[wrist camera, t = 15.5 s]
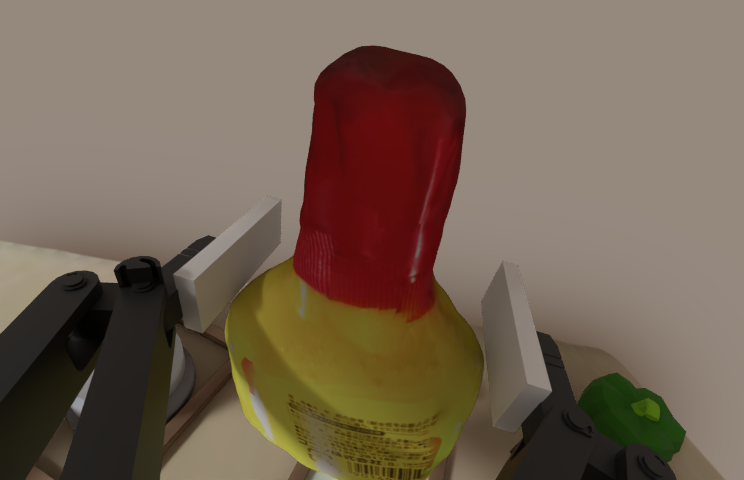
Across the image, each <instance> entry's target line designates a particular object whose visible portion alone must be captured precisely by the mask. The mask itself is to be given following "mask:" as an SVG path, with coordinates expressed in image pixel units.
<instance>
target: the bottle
mask: <svg viewBox="0 0 744 480" xmlns="http://www.w3.org/2000/svg"><path fill="white" fill-rule="evenodd" d="M314 102H315V106H314V113H313V122H312V135H311V141H310V147H309V153H308V159H307V165H306V172H305V184H304V200H303V205H302V208H301V212H300V227H301V228H300V233H299V237H298V240H297V244H296V249H295V253H294V256H292V257H291V258H289V259H288V260H286V261H284V262H283V263H281V264H279V265H277V266H275V267H273V268H271V269H269V270H267V271H266V272H264V273H263V274H261V275H260V276H258V277H257V278H255V279H254V280H253V281H251V282H250V283H249V284H248V285H247V286H246V287H245V288H244V289H243V290H242V291H241V292H240V293H239V294H238V295H237V296H236V298H235V299H234V300H233V302H232V304H231V308H230V311H229V314H228V316H227V320H226V324H225V340H226V344H227V347H228V350H229V355H230V359H231V366H232V375H233V379H234V382H235V385H236V390H237V393H238V396H239V399H240V404H241V407H242V410H243V413H244V414H245V416H246V418H247V419H248V421H249V422H250V423H251V424H252V425H253V426H254V427H255V428H257V429H258V430H259V431H260V432H261V433H262V434H263V436H264V437H265V438H266V439H267V440H269V441H270V442H272V443H273V444H275V445H277V446H279V447H281V448H282V449H284V450H285V451H287V452H288V453H289V454H291V455H292V456H293V457H294V458H295V459H296V460H298V461H299V462H300V463H301V464H303V465H305V466H306V467H308V468H310V469H313V470H316V471H319V472H323V473H325V474H328V475H330V476H332V477H334V478H336V479H338V480H426V479H427V478H428V476H429V475H430V474H431V472H432V471H433V469H434V468H435V467H436V466H437V465H438V464H439V463H440V462H441V461H443V460H444V459H445V458H446V457H447V456H448V455H449V454H450V452H451V451H452V449H453V447H454V445H455V443H456V441H457V439H458V437H459V435H460V433H461V431H462V428H463V426H464V424H465V422H466V420H467V419H468V417H469V415H470V413H471V412H472V410H473V407H474V405H475V402H476V399H477V396H478V392H479V389H480V385H481V381H482V376H483V369H484V359H483V354H482V350H481V348H480V345H479V342H478V340H477V337H476V335H475V333H474V331H473V330H472V328H471V327H470V325H469V324H468V323H467V321H466V320H465V319H464V318H463V317H462V316H461V315H460V314H459V313H458V311H457V310H456V308H455V306H454V305H453V303H452V301H451V299H450V298H449V296H448V295H447V293H446V292H445V291H444V289H443V288H442V287H441V286H440V285H439V284H438V282H437V281H436V279H435V277H434V274H433V266H434V263H435V259H436V255H437V251H438V247H439V245H440V241H441V238H442V233H443V227H444V223H445V220H446V217H447V215H448V211H449V208H450V205H451V201H452V197H453V193H454V190H455V187H456V184H457V180H458V175H459V169H460V163H461V153H462V143H463V135H464V127H465V118H466V104H465V97H464V94H463V92H462V89H461V86H460V84H459V83H458V81H457V80H456V78H455V77H454V75H453V74H452V72H450V71H449V70H448V69H447V68H446V67H445V66H444V65H442V64H440V63H438V62H437V61H435V60H433V59H431V58H427V57H423V56H420V55H416V54H411V53H407V52H402V51H398V50H394V49H391V48H387V47H381V46H361V47H358V48H356V49H354V50H352V51H349V52H347V53H345V54H343V55H342V56H341V57H340V58H338V59H337V60H335V61H334V62H333V63H331V64H330V65H328V66H327V67H326V68H325V69H324V70H323V71H322V72H321V73H320V75H319V77H318V79H317V81H316V83H315V87H314Z"/></svg>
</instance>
